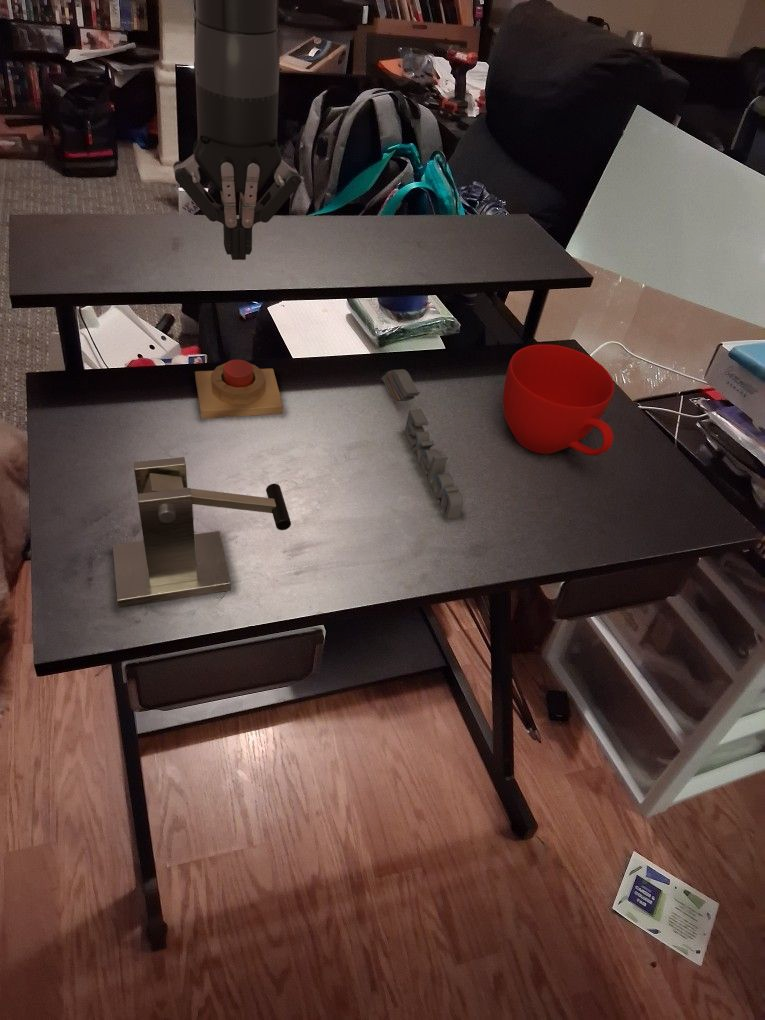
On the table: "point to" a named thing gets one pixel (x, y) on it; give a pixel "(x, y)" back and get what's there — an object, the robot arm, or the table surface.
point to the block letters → (424, 444)
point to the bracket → (168, 545)
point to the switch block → (237, 394)
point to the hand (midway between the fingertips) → (238, 256)
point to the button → (238, 373)
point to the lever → (228, 498)
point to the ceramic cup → (556, 399)
